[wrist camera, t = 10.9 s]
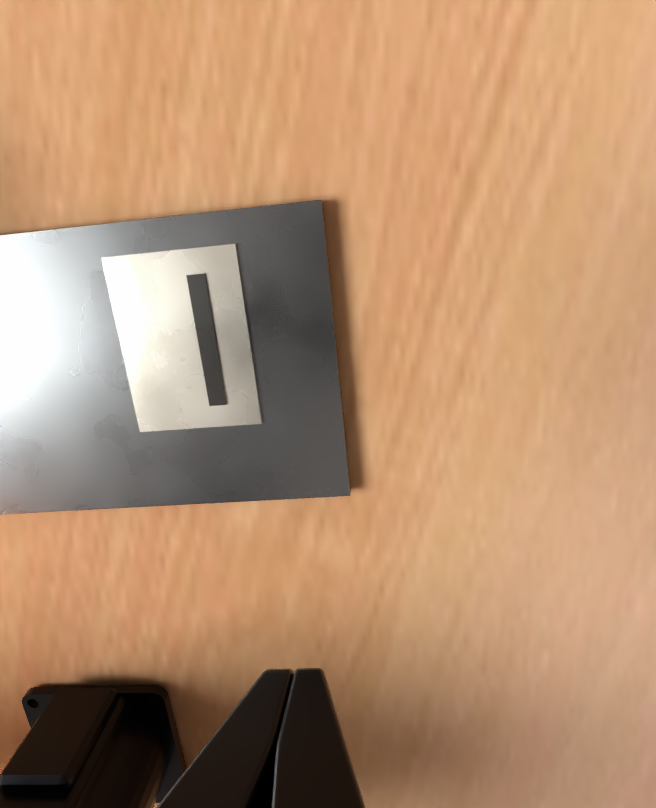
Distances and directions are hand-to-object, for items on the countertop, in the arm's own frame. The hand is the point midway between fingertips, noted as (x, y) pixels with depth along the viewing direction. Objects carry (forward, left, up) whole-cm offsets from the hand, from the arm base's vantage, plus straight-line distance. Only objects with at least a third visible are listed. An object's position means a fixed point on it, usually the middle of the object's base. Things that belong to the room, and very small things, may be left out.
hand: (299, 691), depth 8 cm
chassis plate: (+2, +11, -12) cm, 16 cm away
